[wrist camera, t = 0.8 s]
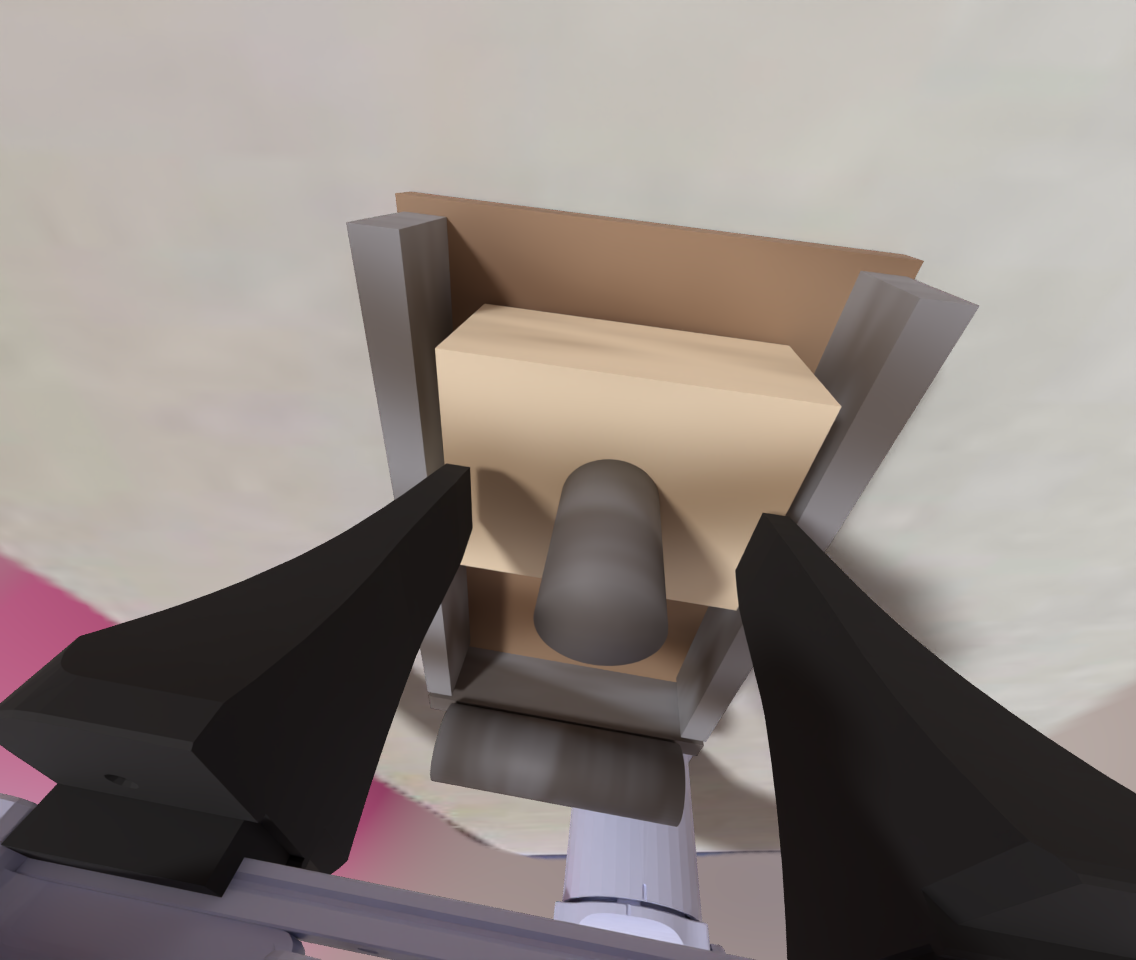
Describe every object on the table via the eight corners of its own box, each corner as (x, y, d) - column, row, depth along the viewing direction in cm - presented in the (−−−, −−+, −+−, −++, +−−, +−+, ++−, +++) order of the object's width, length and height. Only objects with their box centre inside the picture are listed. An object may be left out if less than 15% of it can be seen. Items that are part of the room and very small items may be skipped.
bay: (688, 689, 26) (703, 843, 20) (454, 649, 26) (402, 786, 20) (904, 254, 12) (1154, 335, 6) (410, 191, 13) (219, 211, 7)
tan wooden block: (717, 525, 17) (767, 749, 10) (487, 488, 17) (397, 682, 11) (789, 345, 13) (948, 530, 6) (484, 303, 13) (336, 436, 7)
